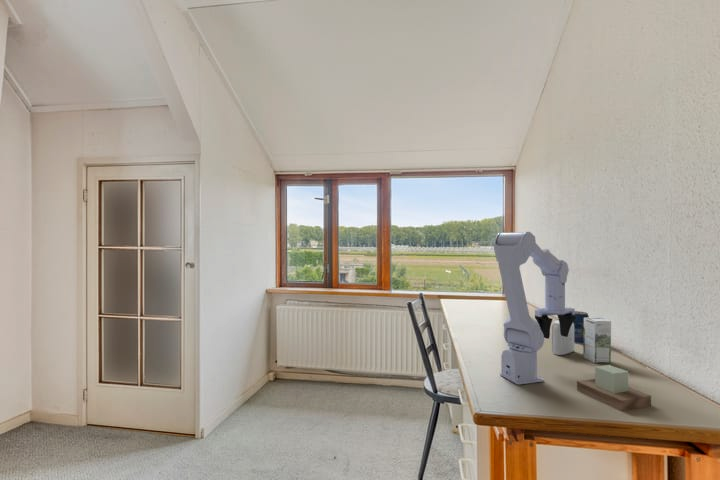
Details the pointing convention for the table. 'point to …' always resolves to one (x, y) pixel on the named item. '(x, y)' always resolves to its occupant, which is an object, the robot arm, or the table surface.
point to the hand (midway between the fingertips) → (555, 336)
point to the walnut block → (615, 396)
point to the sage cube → (611, 378)
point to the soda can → (579, 327)
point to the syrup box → (597, 339)
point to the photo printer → (562, 340)
